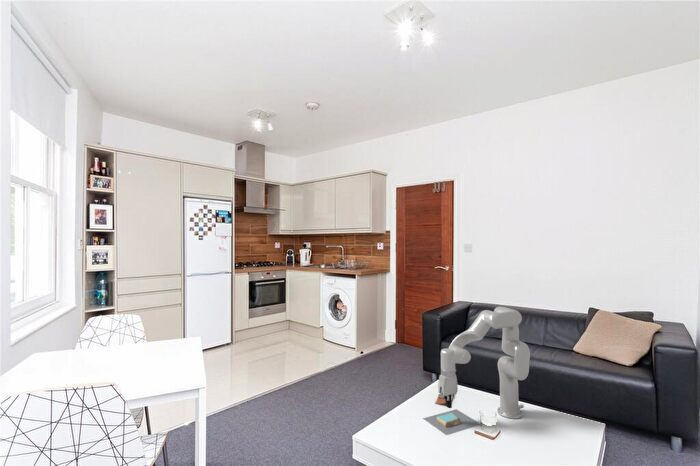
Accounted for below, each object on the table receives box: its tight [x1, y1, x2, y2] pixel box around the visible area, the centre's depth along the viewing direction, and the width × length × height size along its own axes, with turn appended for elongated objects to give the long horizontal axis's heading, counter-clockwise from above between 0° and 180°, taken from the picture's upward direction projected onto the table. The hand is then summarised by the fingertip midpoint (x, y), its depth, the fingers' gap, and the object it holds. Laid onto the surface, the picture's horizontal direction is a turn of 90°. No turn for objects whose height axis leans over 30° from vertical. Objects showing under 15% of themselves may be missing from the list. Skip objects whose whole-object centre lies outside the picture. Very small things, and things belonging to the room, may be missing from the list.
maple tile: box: [437, 413, 460, 427], centre depth 188 cm, size 3×7×10 cm
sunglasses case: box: [434, 393, 447, 407], centre depth 216 cm, size 18×7×7 cm, turn 158°
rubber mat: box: [422, 408, 480, 436], centre depth 189 cm, size 24×19×1 cm
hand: (448, 407), depth 189 cm, fingers closed
